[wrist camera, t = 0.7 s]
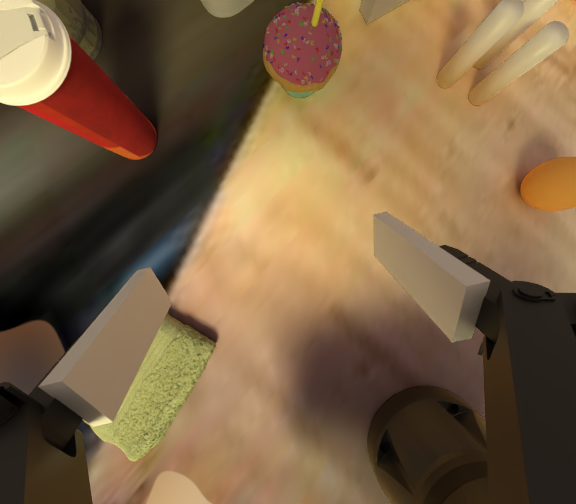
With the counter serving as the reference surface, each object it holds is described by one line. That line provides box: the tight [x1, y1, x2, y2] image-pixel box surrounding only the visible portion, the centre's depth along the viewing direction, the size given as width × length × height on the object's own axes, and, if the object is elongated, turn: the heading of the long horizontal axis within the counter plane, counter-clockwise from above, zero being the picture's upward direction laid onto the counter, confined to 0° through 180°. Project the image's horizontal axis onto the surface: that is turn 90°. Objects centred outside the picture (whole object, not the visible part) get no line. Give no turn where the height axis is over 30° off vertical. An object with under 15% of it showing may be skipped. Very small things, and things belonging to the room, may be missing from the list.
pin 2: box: [473, 0, 558, 69], centre depth 25 cm, size 2×2×8 cm
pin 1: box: [437, 0, 524, 88], centre depth 25 cm, size 2×2×8 cm
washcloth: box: [83, 312, 216, 461], centre depth 28 cm, size 13×18×3 cm
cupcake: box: [263, 0, 342, 98], centre depth 23 cm, size 9×8×12 cm
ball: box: [520, 157, 576, 211], centre depth 26 cm, size 6×6×6 cm
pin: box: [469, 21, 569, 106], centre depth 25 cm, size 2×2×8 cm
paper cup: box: [0, 0, 157, 160], centre depth 22 cm, size 8×8×14 cm
